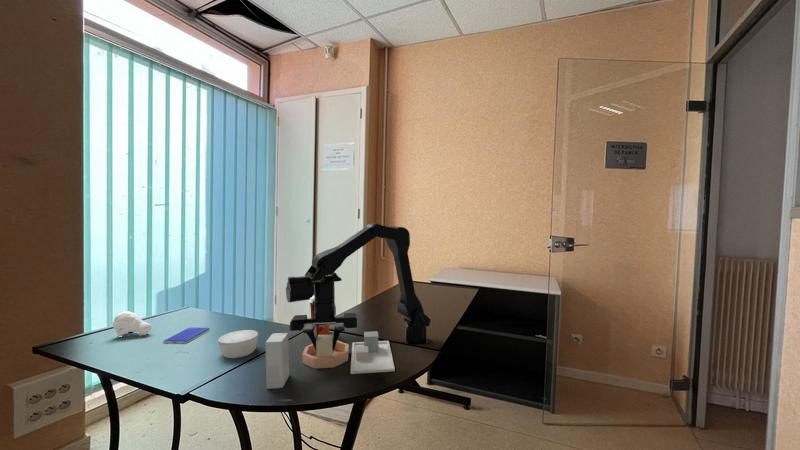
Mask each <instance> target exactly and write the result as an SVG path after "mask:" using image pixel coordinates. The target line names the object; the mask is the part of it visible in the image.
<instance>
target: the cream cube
mask: <svg viewBox="0 0 800 450" xmlns="http://www.w3.org/2000/svg"><path fill="white" fill-rule="evenodd" d="M333 336H334V333H331V334H330V333H329V335H318V337H317V340H316V354H317V357H333V352H334V351H333Z"/></svg>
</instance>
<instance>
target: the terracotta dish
mask: <svg viewBox="0 0 800 450" xmlns="http://www.w3.org/2000/svg"><path fill="white" fill-rule="evenodd" d="M349 349H350V346H349V343H345V342H344V341H341V340H338V339H337V342H336V346H335V349H334V352H333V357H317V354H316V350H315V348H314V345H313V343H311V344H309V345H306V346H305V347H304V350H303V352H302V364H304V365H306V366H308V367H310V368H312V369H327V368H335V367H338V366H339V365H342V364H344V363H346V362H348V361H349V351H350V350H349Z"/></svg>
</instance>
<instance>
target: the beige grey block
mask: <svg viewBox="0 0 800 450" xmlns="http://www.w3.org/2000/svg"><path fill="white" fill-rule="evenodd" d="M361 360H369V357H368V346H356V361H361Z"/></svg>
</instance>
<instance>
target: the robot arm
mask: <svg viewBox="0 0 800 450" xmlns="http://www.w3.org/2000/svg"><path fill="white" fill-rule="evenodd" d="M410 236H411V235H410V231H409V230H408V229H407V228H406V227H403V226H387V225H382V224H379V223H373V222H372V223H368V224H367V225H366V226H365V227H363V228H362V229H361V230H359V231H357V232H356V233H355V234H353V235H352V236H350V237H348V238H347V239H346V240H343V242H342V243H340V244H339V245H337V246H334V247H332V248H329V249H326V250H324V251H321V252H319V253H317V254H316V255H314V256H313V257H312V260H311V265H310V267H309V268H308V269H307V271H306V272H305V274H304V276H288V277H287V283H286V287H285V295H286V296H285V297H286V301H287V303H296V302H302V301H309V300H310V298H311V297H312V296H314V301H313V303H312V311H313V312H315V318H311V317H309V318H308V314H295V315H294V316H293V317H292V318H291V320H290V322H289V331H290V332H295V331H296V332H297V331H299V332H300V331H302V330H303V331H302V332H303V334H306V335H307V336H308V338H309V340H310V341H311V344H313V345H314V348H315V350H316V340H317V332H316V325H327V324H329V325H334V329H333V351H334V349H335V346H336V342H337V340H338V338H339V337H340V334H341V332H345V331H346V329H356V328H358V320H359V319H358V318H359V317H358V314H357V313H356V312H345V313H344V314H343V316H337V311H336V310H337V309H336V308H337V306H336V298H335V295H336V294H335V283H337V282H341V281H343V279H342V278H341V277H340V276H339V275H338V273H337V272H336V271H337V270H338V269H339V268H340V267H341V266H342V264H343V263H344V261H345V260H346V259H347V258H349V257H350V256H351V255H353V254H354V253H355V252H357V251H358V250H360V249H361V248H363V247H364V246H366V245H367V244H369V243H370V242H371V241H372V240H374V239H376V238H381V239H385V242H386V245H387V247H388V249H389V251H391V253H392V255H393V261H394V265H395V271H396V276H397V282H398V285H399V286H398V287H399V292H400V297H399V300H396V302H395V303H396V307H397V313H398V314H399V315H400V316H401V317H402V318H403V321H404V322H406V326H405V328H404V333H405V334H404V339H405V341H406V342H407V345H409V346H413V345H428V340H427V327H429V326H430V324H431V318H429V317H428V316H427V314H425V311H424V308H423V304H422V303H421V301H420V299H419V297H418V296H417V294H416V289H415V286H414V279H413V274H412V273H413V272H412V267H411V264H410V259H409V254H408V253H409V249H410V247H411V237H410Z"/></svg>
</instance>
